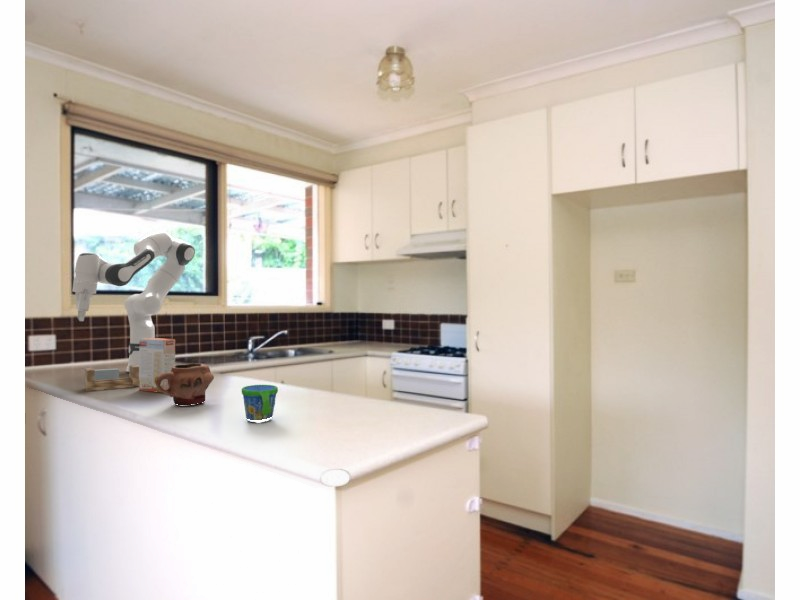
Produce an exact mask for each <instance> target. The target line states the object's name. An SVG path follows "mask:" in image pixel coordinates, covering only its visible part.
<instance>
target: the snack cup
mask: <svg viewBox="0 0 800 600" xmlns="http://www.w3.org/2000/svg"><path fill="white" fill-rule="evenodd" d="M278 392H279V388H278V386H276V385H273V384H253V385H252V384H251V385H247V386H243V387H242V388H241V394H242V396H243V397H242V398H243V404H244V412H245V419H246V418H247V419H250V420H262V419H267V418H270V417H272V416H274V410H275V409H274V408H275V405H276V404H275V403H276V398H277V394H278ZM272 418H273V417H272ZM247 419H246V420H247Z"/></svg>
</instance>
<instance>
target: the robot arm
mask: <svg viewBox="0 0 800 600" xmlns="http://www.w3.org/2000/svg"><path fill="white" fill-rule="evenodd" d="M195 251H196V249H195V247H194V245H193V244H191V243H189V242H186V241H183V239H179V238H174V237H172V236H171V235H170V234H169V233H168V232H167V231H165V230H158V231H155V232H152V233H151V234H148V235H146V236H144V237H143V238H140V239H139V240H138V241H136V242H135V243H134V244H133V253H134V254H135V255H134V256H133V257H132V258H130V259H128V261H125V262H122V263H111V262H108V261H106V260H105V259H104V258H103V257H101V256H100V254H99V253H95V252H83V253H80V254H79V255H78V257H77V259H76V263H75V269H74V272H75V273H74V275H75V277H74V278H73V284H72V292H73V293H75V294H74V295H75V308H76V309H77V320H78V321H79V322H84V321H85V316H86V312H89V308H90V303H91V302H90V301H91V298H93V295H96V294H97V290H98V289H97V288H98V283H100V284H105V285H113V286H116V287H124V286H126V285H127V284H129V283H130V281H132V279H133V278H134V276H136V274H137V273H138V272H140V271H141V270H143V269H144V268H145V267H147V266H148V265H150V263H152V261H154V260H155V259H157V258H158V257H160V256H162V257H164V258H166V259H165V262H164V263H163V264H161V266H159V268H158V269H157V270H156V271H155V272H154V273H153V274H152V276H151V277H150V278H149V279H148V281H147V284H146V286H145V288H144V290H143V291H142V292H141V293H134V294H131V295H130V296H129V297H127V298H126V299H125V301H124V308H125V310H126V313H127V318H128V323H129V339H130V340H129V343H128V354H129V357H128V364H127V367H126V370H125V371H126V373H127V372H128V373H130V365H137V366H139V343H140V339H143V338H156V336H155V335H156V334H155V333H156V331H155V330H156V329H155V328H156V327H155V325H154V323H153V319H152V316H153V315H156V314H158V313H160V311H161V310H162V307H163V302H164V301H165V299H166V296H167V295H168V294H169V292H170V291H171V290H172V288H174V286H175V285H176V284H177V282H178V281H179V279H180V278H181V277H182V275H183V273H184V272H185V269H186V265H188V264H189V263H190V262H191V261H192V260H193V259H194V257H195V254H196V252H195Z"/></svg>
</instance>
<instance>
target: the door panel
mask: <svg viewBox="0 0 800 600" xmlns="http://www.w3.org/2000/svg"><path fill="white" fill-rule="evenodd" d="M94 370H95V376H94V381H95V380H107V379H119V378H120V368H118V367H117V368H104V369H94Z"/></svg>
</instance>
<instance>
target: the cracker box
mask: <svg viewBox="0 0 800 600" xmlns="http://www.w3.org/2000/svg"><path fill="white" fill-rule="evenodd" d="M173 366H176V339H174V338H161V337H160V338H159V337H155V338H143V339H140V343H139V387H138V391H142V390H146V392H151V391H157V392H156V393H159V392H161V391H160V390H159V389H158V388H157V386H156V380H157V378H158V377H159V376H160V375H161V374H164V373H169V372H171V369H172V367H173ZM160 386H161V388H162V389H164V390H168V389H169V385H168V379H164V380H162V381H161V384H160Z"/></svg>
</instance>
